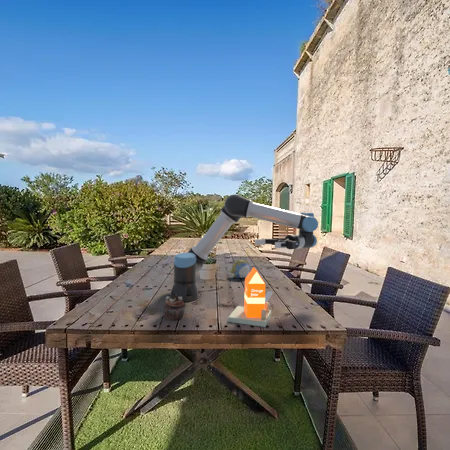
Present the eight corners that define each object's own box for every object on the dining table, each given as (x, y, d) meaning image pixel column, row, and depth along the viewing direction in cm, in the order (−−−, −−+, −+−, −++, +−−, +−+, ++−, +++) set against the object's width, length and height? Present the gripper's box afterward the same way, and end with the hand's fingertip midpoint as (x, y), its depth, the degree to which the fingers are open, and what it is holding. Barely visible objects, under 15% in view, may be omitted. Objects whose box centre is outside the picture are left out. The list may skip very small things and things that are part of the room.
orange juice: (260, 310, 134) (261, 267, 133) (264, 317, 125) (266, 271, 124) (243, 310, 133) (244, 267, 133) (246, 317, 125) (248, 271, 124)
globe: (246, 258, 201) (248, 256, 216) (225, 264, 204) (229, 261, 218) (252, 277, 201) (253, 273, 215) (231, 282, 203) (233, 278, 218)
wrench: (252, 308, 144) (252, 306, 144) (263, 291, 175) (263, 290, 175) (269, 310, 142) (269, 308, 142) (277, 293, 172) (277, 291, 172)
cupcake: (189, 317, 129) (190, 294, 129) (172, 322, 122) (172, 299, 122) (175, 311, 136) (176, 290, 135) (158, 316, 129) (158, 294, 128)
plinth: (228, 321, 125) (228, 307, 125) (237, 309, 140) (238, 297, 140) (265, 326, 120) (266, 312, 120) (271, 314, 135) (271, 301, 135)
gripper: (313, 252, 144) (284, 254, 132) (276, 246, 164) (247, 248, 152) (314, 236, 144) (285, 238, 131) (276, 233, 164) (248, 233, 151)
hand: (264, 243), depth 141 cm, fingers open, 13 cm apart
